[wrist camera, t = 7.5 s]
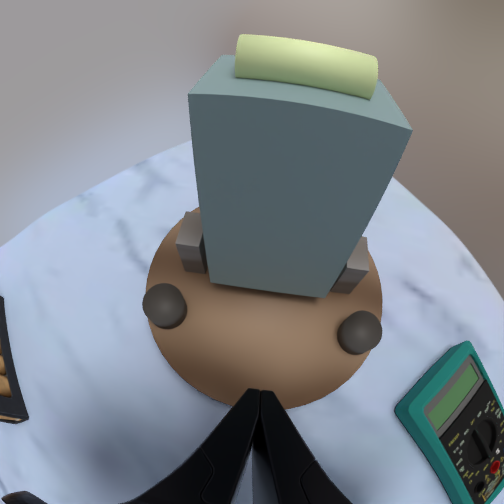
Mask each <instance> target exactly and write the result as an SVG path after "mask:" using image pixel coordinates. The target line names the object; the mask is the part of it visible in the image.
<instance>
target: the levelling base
mask: <svg viewBox="0 0 504 504" xmlns="http://www.w3.org/2000/svg"><path fill="white" fill-rule="evenodd" d="M142 305H143V311H144V313H145V315H146V316H147V317H148V321H149V325H150V328H151V331H152V334H153V337H154V340H155V341H156V343H157V345H158V347H159V349H160V351H161V353H162V355H163V356H164V357H165V359H166V360H167V361H168V363H169V364H170V365H171V367H172V368H173V369H174V370H175V371H176V372H177V373H178V374H179V375H180V376H181V377H182V378H183V379H184V380H185V381H186V382H188V383H189V384H190V385H192V386H193V387H194V388H196V389H197V390H198V391H200V392H202V393H204V394H205V395H207V396H209V397H211V398H213V399H215V400H217V401H220V402H223V403H225V404H228V405H231V406H234V405H235V403H236V402H237V401H238V400H239V398H240V397H241V396H242V395H243V393H244V392H245V391H246V390H247V389H248V388H255V389H260V391H261V390H272V391H274V393H275V394H276V396H277V398H278V399H279V401H280V403H281V404H282V406H283V408H284V409H290V408H295V407H299V406H303V405H306V404H309V403H311V402H314V401H316V400H318V399H321V398H323V397H324V396H326V395H328V394H330V393H331V392H333V391H335V390H336V389H338V388H339V387H340V386H341V385H342V384H344V383H345V382H346V381H347V380H349V379H350V378H351V377H352V375H353V374H354V373H355V372H356V371H357V370H358V369H359V368H360V366H361V365H362V364H363V362H364V361H365V359H366V358H367V356H368V355H369V353H370V351H371V349H373V348H374V347H376V346H377V345H378V343H379V342H380V340H381V337H382V327H381V323H380V322H381V316H382V291H381V283H380V279H379V275H378V272H377V269H376V266H375V264H374V261H373V259H372V257H371V255H370V253H369V251H368V247H367V237H362V236H361V238H360V240H359V241H358V243H357V245H356V247H355V249H354V250H353V252H352V254H351V256H350V257H349V259H348V261H347V263H346V264H345V266H344V268H343V269H342V271H341V273H340V274H339V276H338V278H337V279H336V281H335V283H334V284H333V286H332V288H331V289H330V291H329V293H328V294H327V296H326V297H325V298H319V297H310V296H302V295H295V294H287V293H280V292H272V291H265V290H258V289H251V288H244V287H237V286H231V285H224V284H218V283H211V282H210V277H209V270H208V264H207V257H206V251H205V244H204V237H203V230H202V222H201V215H200V207H198V208H196V209H195V210H193V211H191V212H186V213H185V216H184V218H182V219H181V220H180V221H179V222H178V223H177V224H176V225H175V226H174V227H173V228H172V229H171V230H170V232H169V233H168V234H167V235H166V237H165V238H164V239H163V241H162V243H161V244H160V246H159V248H158V250H157V251H156V253H155V256H154V258H153V261H152V263H151V266H150V270H149V274H148V278H147V285H146V294H145V296H144V298H143V303H142Z"/></svg>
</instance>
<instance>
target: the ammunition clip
mask: <svg viewBox="0 0 504 504" xmlns="http://www.w3.org/2000/svg"><path fill="white" fill-rule="evenodd" d="M28 418H29V416H28V413H27V410H26V407H25V404H24V401H23V397H22V394H21V390H20V387H19V383H18V379H17V376H16V372H15V367H14V363H13V358H12V354H11V348H10V343H9V337H8V331H7V324H6V317H5V308H4V298H3V297H2V296H0V422H6V423H12V424H18V423H20V422H23V421H26V420H28Z"/></svg>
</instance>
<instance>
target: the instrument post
mask: <svg viewBox="0 0 504 504" xmlns="http://www.w3.org/2000/svg"><path fill="white" fill-rule="evenodd" d="M377 78H378V63H377V59H376V57H374V56H371V55H368V54H364V53H360V52H356V51H353V50H349V49H344V48H340V47H336V46H331V45H326V44H321V43H316V42H310V41H304V40H297V39H290V38H282V37H273V36H263V35H248V34H241V35H240V36H239V39H238V43H237V48H236V55H222V56H221V57H220V58H219V59H218V60H217V61H216V62H215V63H214V64H213V65H212V66H211V67H210V69H209V70H208V71H207V72H206V73H205V74H204V75H203V77H202V78H201V79H200V80H199V81H198V82H197V84H196V85H195V86H194V87H193V88H192V89H191V91H190V92H189V93H188V102H189V114H190V124H191V136H192V146H193V156H194V165H195V174H196V183H197V191H198V199H199V207H200V215H201V222H202V230H203V237H204V244H205V251H206V257H207V264H208V270H209V277H210V282H211V283H218V284H224V285H231V286H237V287H244V288H251V289H258V290H265V291H272V292H280V293H287V294H295V295H302V296H310V297H319V298H325V297H326V296H327V294H328V293H329V291H330V289H331V288H332V286H333V284H334V283H335V281H336V279H337V278H338V276H339V274H340V273H341V271H342V269H343V268H344V266H345V264H346V263H347V261H348V259H349V257H350V256H351V254H352V252H353V250H354V249H355V247H356V245H357V243H358V241H359V240H360V238H361V236H362V234H363V232H364V231H365V229H366V227H367V225H368V223H369V221H370V219H371V217H372V216H373V214H374V212H375V210H376V208H377V206H378V204H379V202H380V200H381V198H382V196H383V194H384V192H385V190H386V188H387V186H388V184H389V182H390V180H391V178H392V176H393V174H394V171H395V169H396V167H397V165H398V163H399V161H400V159H401V156H402V154H403V152H404V150H405V147H406V145H407V143H408V140H409V138H410V136H411V134H412V131H413V130H412V128H411V127H410V125H409V123H408V122H407V120H406V118H405V117H404V115H403V114H402V112H401V110H400V109H399V107H398V106H397V104H396V103H395V101H394V100H393V98H392V97H391V95H390V94H389V92H388V91H387V89H386V88H385V87H384V85H383V84H382V82H381V81H380V80H378V79H377Z"/></svg>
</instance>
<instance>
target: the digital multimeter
mask: <svg viewBox="0 0 504 504" xmlns="http://www.w3.org/2000/svg"><path fill="white" fill-rule="evenodd" d="M395 412H396V415H397V416H398V418H399V419H400V421H401V422H402V423H403V425H404V426H405V427H406V429H407V430H408V432H409V433H410V434H411V436H412V437H413V439H414V440H415V441H416V443H417V444H418V446H419V447H420V448H421V450H422V451H423V453H424V454H425V456H426V457H427V459H428V461H429V462H430V464H431V465H432V467H433V468H434V470H435V472H436V473H437V475H438V476H439V478H440V480H441V482H442V484H443V486H444V488H445V490H446V491H447V493H448V495H449V497H450V499H451V501H452V504H490V503H491V502H492V501H493V500H494V499H495V498H496V496H497V495H498V494H499V493H500V492H501V490H502V489H503V487H504V409H503V407H502V404H501V402H500V400H499V398H498V396H497V393H496V391H495V389H494V387H493V385H492V383H491V381H490V379H489V377H488V375H487V373H486V371H485V369H484V367H483V365H482V363H481V361H480V359H479V357H478V355H477V353H476V351H475V349H474V347H473V346H472V344H471V342H470V341H465V342H462V343H460V344H458V345H455V346H453V347H452V348H450V349H449V350H448V351H447V352H446V353H445V354H444V355H443V356H442V357H441V358H440V359H439V360H438V361H437V362H436V363H435V364H434V365H433V366H432V367H431V368H430V369H429V370H428V371H427V372H426V373H425V375H424V376H423V377H422V378H421V379H420V380H419V381H418V382H417V383H416V384H415V386H414V387H413V388H412V389H411V390H410V391H409V392H408V393H407V395H406V396H405V397H404V398H403V399H402V400H401V401H400V402H399V404H398V405H397V406H396V409H395ZM440 441H441V442H440ZM443 446H444V447H443ZM444 448H445V449H444ZM447 453H448V454H447ZM448 455H449V456H448ZM451 460H452V461H451ZM452 462H453V463H452ZM453 464H454V465H453ZM454 466H455V467H454ZM471 466H472V467H471ZM457 471H458V472H457ZM458 473H459V474H458ZM459 475H460V476H459ZM460 477H461V478H460ZM461 479H462V480H461ZM468 492H469V493H468ZM469 494H470V495H469ZM470 496H471V497H470ZM471 498H472V499H471ZM472 500H473V501H472ZM473 502H474V503H473Z"/></svg>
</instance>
